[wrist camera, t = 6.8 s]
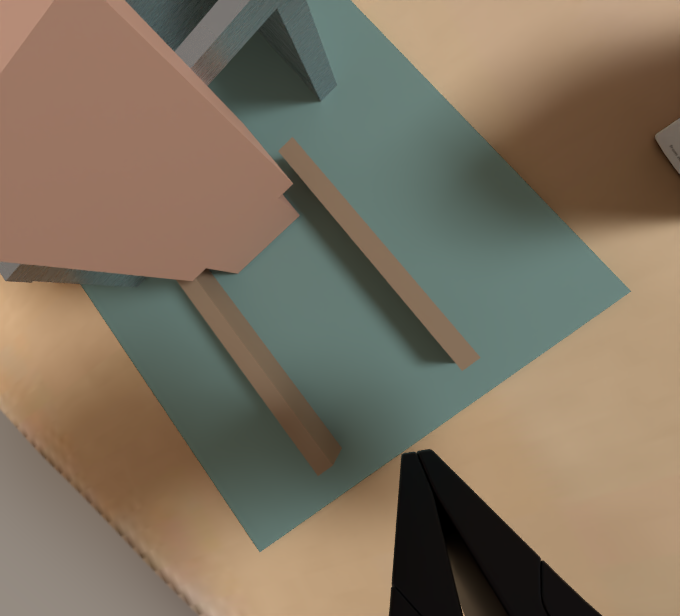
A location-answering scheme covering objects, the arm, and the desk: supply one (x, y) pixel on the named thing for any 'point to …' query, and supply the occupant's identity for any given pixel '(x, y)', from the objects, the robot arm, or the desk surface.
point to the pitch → (354, 284)
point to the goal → (211, 73)
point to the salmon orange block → (123, 151)
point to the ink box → (671, 143)
